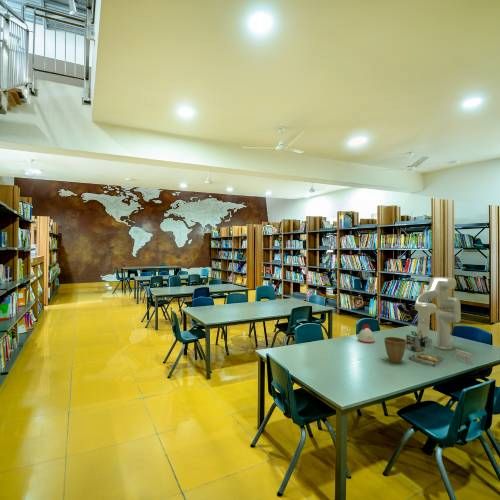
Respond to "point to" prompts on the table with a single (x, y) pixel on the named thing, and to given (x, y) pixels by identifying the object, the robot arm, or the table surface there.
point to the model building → (412, 342)
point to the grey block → (427, 342)
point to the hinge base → (426, 359)
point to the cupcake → (366, 335)
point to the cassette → (465, 359)
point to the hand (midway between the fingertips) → (423, 346)
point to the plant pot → (395, 348)
